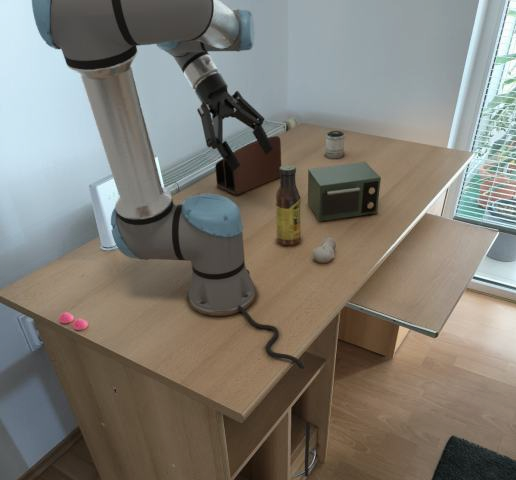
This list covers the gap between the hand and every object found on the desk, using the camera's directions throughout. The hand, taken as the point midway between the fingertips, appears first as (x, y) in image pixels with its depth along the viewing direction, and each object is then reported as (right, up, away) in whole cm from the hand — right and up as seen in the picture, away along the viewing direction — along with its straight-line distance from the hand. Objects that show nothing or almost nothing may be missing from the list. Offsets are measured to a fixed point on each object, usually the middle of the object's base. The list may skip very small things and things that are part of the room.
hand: (253, 159), depth 127 cm
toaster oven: (+26, -8, +20) cm, 33 cm away
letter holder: (-2, +7, +40) cm, 40 cm away
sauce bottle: (+9, -18, +9) cm, 23 cm away
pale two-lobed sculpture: (+18, -24, +2) cm, 30 cm away
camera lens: (+28, +21, +53) cm, 64 cm away
